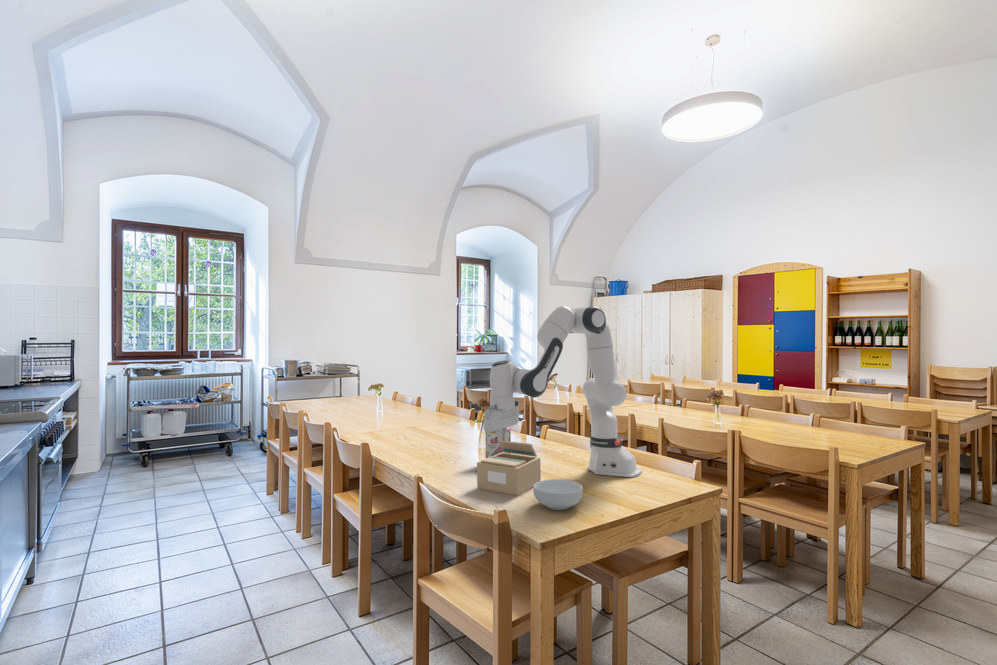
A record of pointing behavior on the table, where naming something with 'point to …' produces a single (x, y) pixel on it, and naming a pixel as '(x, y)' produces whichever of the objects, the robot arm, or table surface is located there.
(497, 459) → the flap
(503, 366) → the robot arm
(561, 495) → the cereal bowl
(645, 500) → the table surface
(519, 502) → the table surface
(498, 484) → the carton
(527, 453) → the cardboard box flap
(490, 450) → the candy bar box
